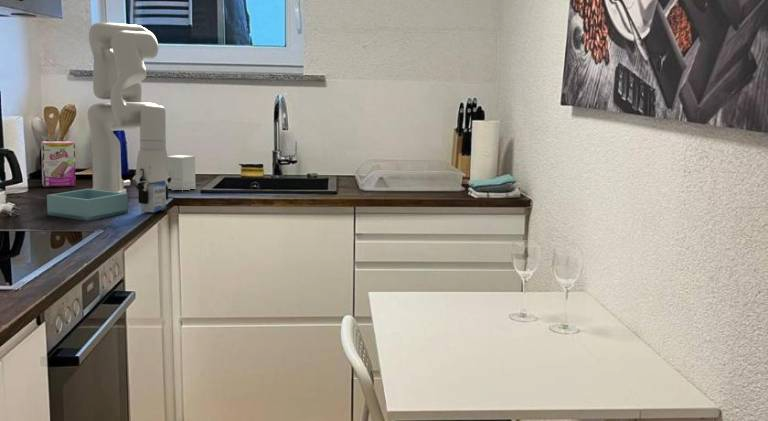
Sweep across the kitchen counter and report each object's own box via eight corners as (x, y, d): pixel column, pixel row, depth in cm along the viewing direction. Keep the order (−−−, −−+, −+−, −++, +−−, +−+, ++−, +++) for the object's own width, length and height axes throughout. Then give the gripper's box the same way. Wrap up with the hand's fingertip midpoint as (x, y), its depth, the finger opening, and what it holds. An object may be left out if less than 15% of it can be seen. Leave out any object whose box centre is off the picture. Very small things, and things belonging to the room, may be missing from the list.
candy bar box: (43, 187, 275) (41, 142, 272) (42, 185, 279) (40, 141, 276) (76, 186, 281) (75, 142, 278) (74, 184, 285) (72, 140, 282)
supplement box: (196, 189, 283) (195, 155, 280) (182, 191, 276) (182, 157, 274) (181, 187, 286) (180, 154, 284) (167, 189, 279) (166, 155, 277)
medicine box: (153, 212, 230) (153, 184, 229) (140, 211, 231) (140, 183, 229) (166, 208, 238) (166, 181, 236) (153, 207, 239) (153, 180, 237)
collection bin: (88, 207, 238) (87, 188, 237) (128, 212, 232) (127, 193, 231) (47, 215, 224) (46, 195, 223) (88, 220, 217) (87, 200, 216)
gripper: (162, 142, 240) (162, 196, 243) (123, 146, 224) (124, 203, 227) (181, 144, 237) (181, 198, 240) (143, 148, 221) (143, 206, 225)
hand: (153, 201), depth 234 cm, fingers closed on medicine box, 8 cm apart
